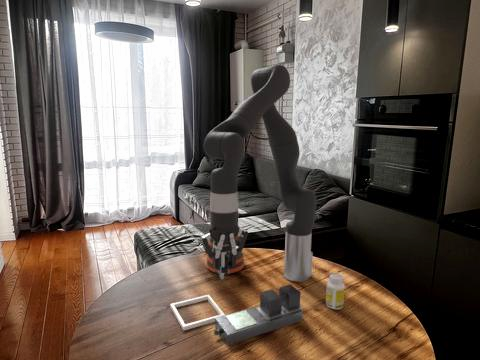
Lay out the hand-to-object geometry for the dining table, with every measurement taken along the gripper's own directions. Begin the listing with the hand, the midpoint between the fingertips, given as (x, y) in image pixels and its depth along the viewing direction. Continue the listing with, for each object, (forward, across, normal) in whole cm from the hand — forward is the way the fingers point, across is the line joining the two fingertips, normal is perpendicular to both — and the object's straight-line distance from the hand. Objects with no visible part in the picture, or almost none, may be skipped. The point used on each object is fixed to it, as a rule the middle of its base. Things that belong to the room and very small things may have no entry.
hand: (224, 267), depth 93 cm
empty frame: (+17, +6, -8) cm, 19 cm away
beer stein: (+17, -14, -31) cm, 38 cm away
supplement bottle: (+17, -35, +6) cm, 39 cm away
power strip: (+17, -9, +5) cm, 20 cm away
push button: (+2, 0, 0) cm, 3 cm away
